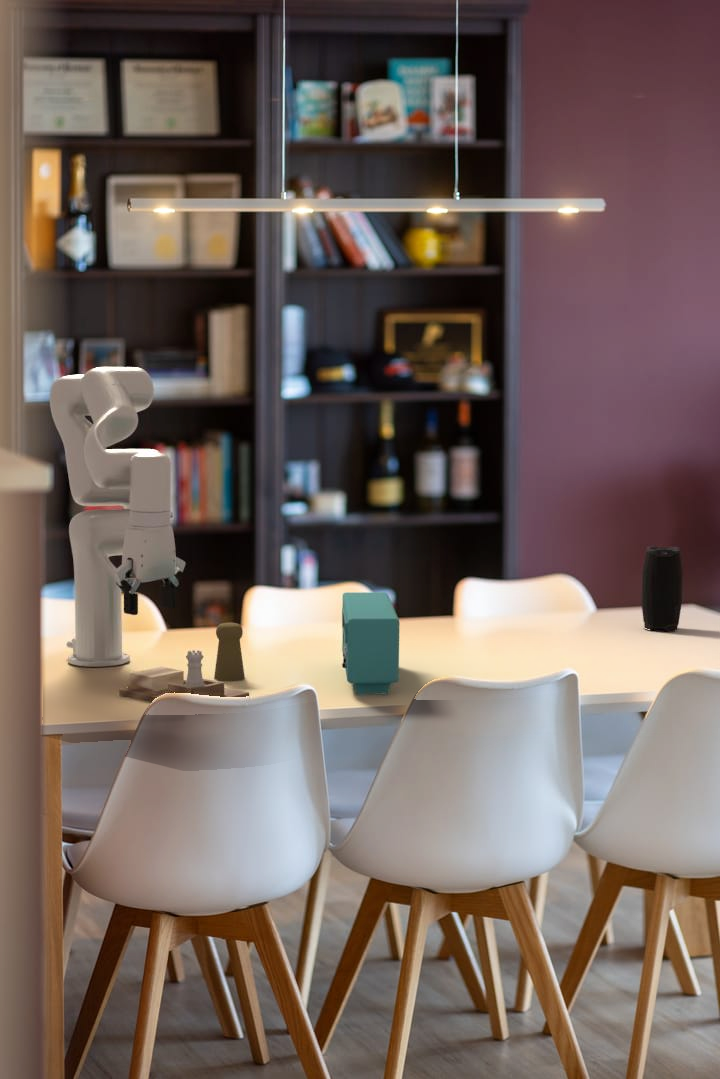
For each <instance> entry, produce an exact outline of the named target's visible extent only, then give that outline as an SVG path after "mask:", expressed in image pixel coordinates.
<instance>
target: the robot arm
mask: <svg viewBox="0 0 720 1079" xmlns="http://www.w3.org/2000/svg"><path fill="white" fill-rule="evenodd" d="M154 390H155V389H154V384H153V381H152V378H151V376H150V374H149V373H148V372H147V371H146V370H145V369H143V368H142V367H141V368H140V367H136V366H135V367H134V366H133V367H132V366H126V367H125V366H99V367H95V368H91V369H89V370H88V371H87V372H85V373H84V374H71V375H70V374H69V375H65V376H61V377H59V378H57V379H55V380H54V381H53V383H52V385H51V387H50V391H49V406H50V412H51V417H52V419H53V423H54V425H55V427H56V430H57V431H58V434H59V437H60V438H61V441H62V443H63V448H64V452H65V454H64V456H65V461H66V468H67V474H68V482H69V483H68V484H69V488H70V493H71V496H72V499H73V501H74V502H75V503H76V504H78V505H79V506H85V507H105V506H106V507H107V506H111V507H112V506H122V507H123V508H121V509H120V508H117V509H114V508H109V509H91V510H85V511H81V512H78V513H77V514H75V515H74V516H73V517H72V518H71V520H70V522H69V526H68V534H69V542H70V547H71V554H72V559H73V572H74V573H73V574H74V575H73V576H74V626H75V631H74V632H75V635H74V636H75V637H73V638H72V639H71V641H67V642H66V647H67V648H71V649H72V654H70V655H68V658H67V661H68V663H69V665H72V666H78V667H90V668H91V667H92V668H93V667H94V668H100V667H101V668H102V667H113V666H114V667H115V666H119V665H124V664H127V663H128V662H130V660H131V658H130V656H131V655H130V654H129V653H127V652H123V625H122V623H123V621H122V620H123V614H122V613H124V614H125V615H126V614H127V615H132V616H137V615H138V614H139V593H136V592H137V590H138V589H139V586H140V584H141V583H148V582H155V581H162V583H163V584H164V585H163V584H162V585H161V606H163V608H164V607H165V608H169V609H174V608H176V607H177V587H179V585H180V583H179V581H180V580H181V578H182V577H183V572H184V569H185V566H186V561H184V560H183V559H181V558H179V557H177V556H176V553H177V552H176V543H175V542H176V540H175V537H174V536H175V535H174V528H173V526H171V523H172V522H171V521H172V520H171V519H173V517H174V515H173V512H172V511H171V508H172V507H171V498H172V497H171V489H172V487H171V485H172V483H171V480H172V479H171V476H172V475H171V474H172V473H171V471H172V470H171V468H172V465H171V464H172V463H171V458H170V457H169V456H168V455H166V454H165V453H162V452H161V451H159V450H157V449H154V448H152V449H151V448H112V449H111V448H110V449H107V448H108V447H111V446H113V445H115V444H117V443H120V442H121V441H123V440H125V439H127V438H128V437H130V436H131V435H132V434H133V433H134V432H135V431H136V429H137V427H138V424H139V416H138V413H139V412H141V411H144V410H146V409H148V408H149V407H150V406H151V404H152V402H153V399H154V392H155V391H154ZM86 416H90V417H91V420H92V422H91V421H89V420H88V419H87V418H86ZM112 556H113V557H114V556H122V557H121V564H120V565H119V566H118V567H116V566H115V565H114V564H113V562H111V560H110V557H112ZM122 593H123V602H122ZM122 603H123V609H122Z"/></svg>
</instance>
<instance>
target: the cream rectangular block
mask: <svg viewBox="0 0 720 1079" xmlns="http://www.w3.org/2000/svg"><path fill="white" fill-rule="evenodd" d="M184 673H185V672H184V670H181V669H175V668H172V667H171V668H170V667H164V666H159V667H154V668H153V667H152V668H148V669H143V670H138V671H132V672H130V673H129V685H134V686H139V687H143V688H148V689H153V690H158V691H160V690H165V689H168V684H169V683H174V684H180V685H184V680H185V679H184V677H185V676H184Z"/></svg>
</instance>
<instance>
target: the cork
mask: <svg viewBox="0 0 720 1079" xmlns="http://www.w3.org/2000/svg"><path fill="white" fill-rule="evenodd" d="M215 635H216V637H217V639H218V645H217V653H216V661H215V668H214V676H213V677H214V678H213V679H214V681H218V682H239V681H243V680H245V679H246V677H245V669H244V662H243V655H242V648H241V647H242V646H241V641H240V640H241V638H242V637H243V628H242V626H241V624H240V623H236V622H231V621H230V622H222V623H220V624H218V625H217V627H216V629H215Z"/></svg>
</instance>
